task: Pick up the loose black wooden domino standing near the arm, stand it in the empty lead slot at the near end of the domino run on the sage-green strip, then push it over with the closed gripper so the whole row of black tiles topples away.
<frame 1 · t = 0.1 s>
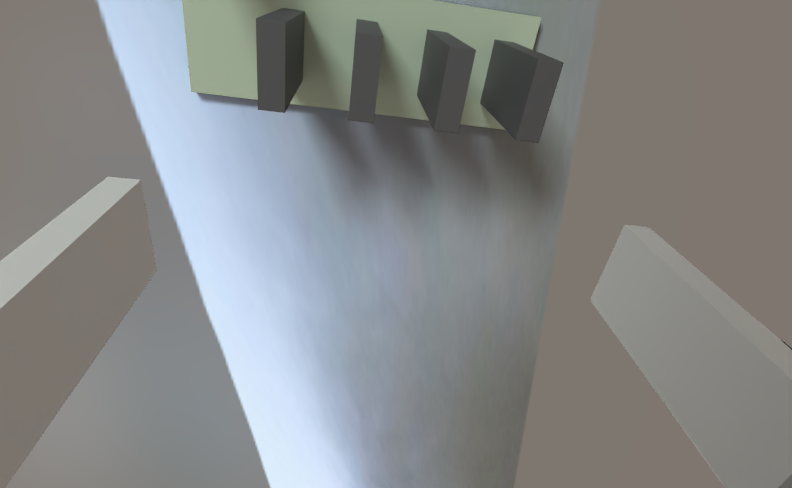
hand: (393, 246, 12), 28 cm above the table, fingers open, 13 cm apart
strip: (363, 54, 35), on the table
domino 4: (431, 64, 35), point 1 cm above the table, touching strip
domino 2: (293, 45, 34), point 1 cm above the table, touching strip
domino 5: (496, 73, 36), point 1 cm above the table, touching strip
domino 3: (363, 55, 35), point 1 cm above the table, touching strip
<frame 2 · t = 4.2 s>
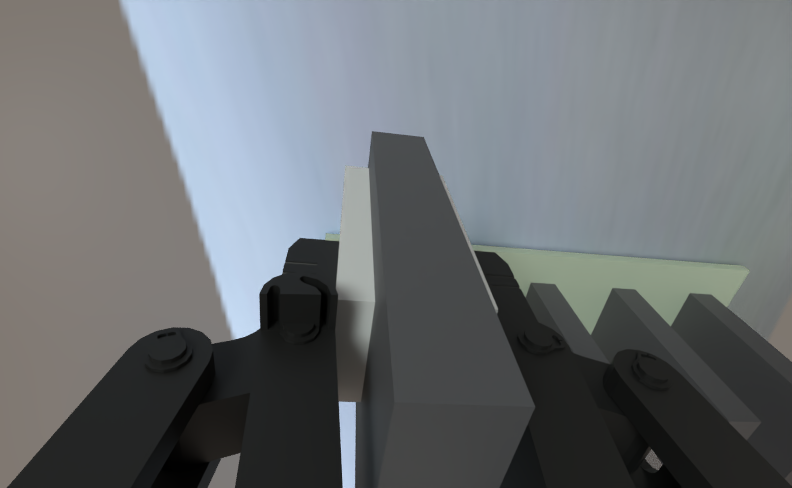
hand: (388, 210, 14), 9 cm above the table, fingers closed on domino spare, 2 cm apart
strip: (528, 309, 29), on the table
domino 4: (609, 319, 29), point 1 cm above the table, touching strip
domino 5: (683, 323, 30), point 1 cm above the table, touching strip
domino 3: (531, 314, 28), point 1 cm above the table, touching strip
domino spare: (387, 207, 15), point 9 cm above the table, touching gripper
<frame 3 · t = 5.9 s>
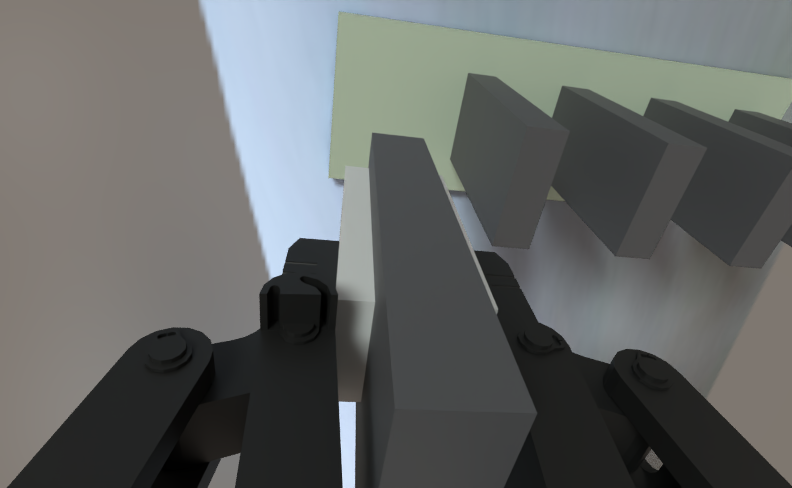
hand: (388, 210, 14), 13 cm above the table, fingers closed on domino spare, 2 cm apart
strip: (557, 127, 26), on the table
domino 4: (645, 140, 27), point 1 cm above the table, touching strip
domino 2: (471, 119, 25), point 1 cm above the table, touching strip
domino 5: (725, 150, 27), point 1 cm above the table, touching strip
domino 3: (560, 130, 26), point 1 cm above the table, touching strip
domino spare: (387, 208, 15), point 13 cm above the table, touching gripper
when the fingers open (1 cm above the table, at t = 8.1 s): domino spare stays where it is, resting on strip.
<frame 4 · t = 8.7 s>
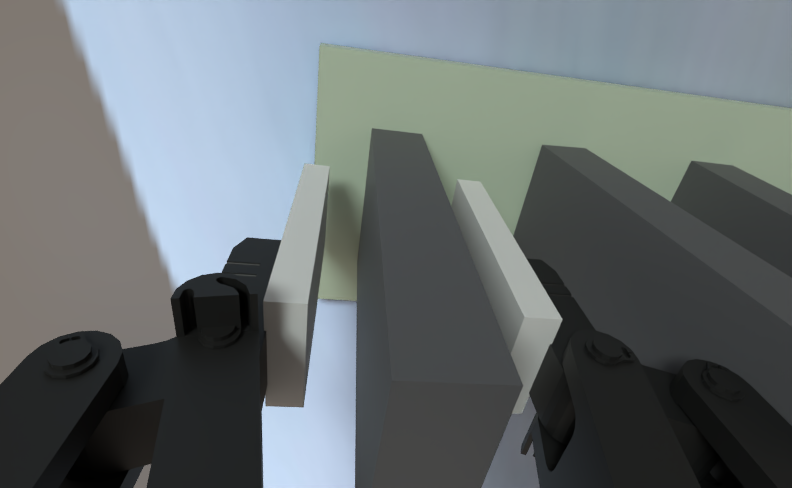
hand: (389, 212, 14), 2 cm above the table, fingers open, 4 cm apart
strip: (668, 218, 17), on the table
domino 2: (540, 214, 15), point 1 cm above the table, tilted 6°, touching gripper, strip
domino 3: (678, 226, 16), point 1 cm above the table, touching strip
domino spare: (387, 202, 15), point 1 cm above the table, touching strip
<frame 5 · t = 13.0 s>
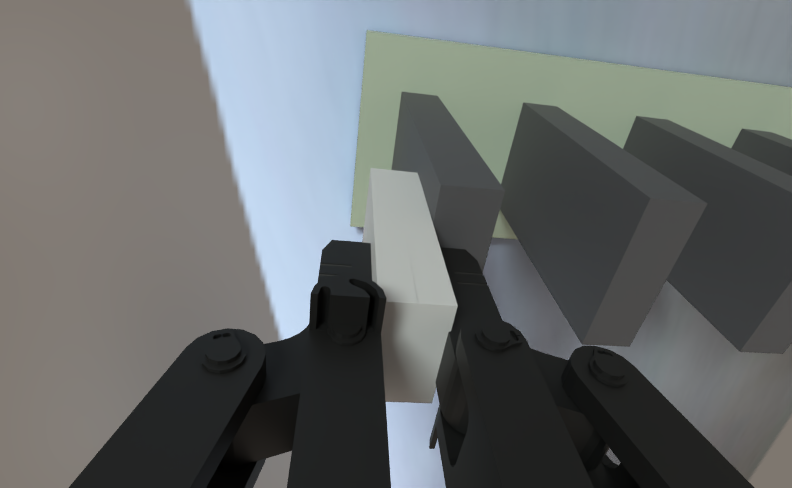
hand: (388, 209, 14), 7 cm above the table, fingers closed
strip: (624, 163, 22), on the table
domino 4: (729, 178, 22), point 1 cm above the table, touching strip
domino 2: (524, 157, 21), point 1 cm above the table, touching strip
domino 3: (630, 168, 22), point 1 cm above the table, touching strip
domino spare: (411, 148, 20), point 1 cm above the table, touching gripper, strip
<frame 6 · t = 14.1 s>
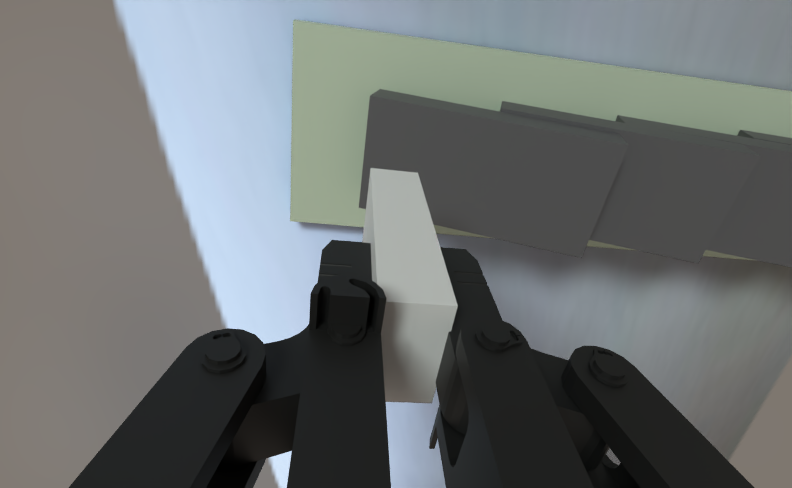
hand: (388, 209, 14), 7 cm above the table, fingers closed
strip: (569, 159, 22), on the table
domino 4: (720, 183, 21), point 1 cm above the table, tilted 70°, touching domino 3, domino 5
domino 2: (488, 159, 20), point 1 cm above the table, tilted 73°, touching domino 3, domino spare, strip
domino 3: (601, 171, 21), point 1 cm above the table, tilted 73°, touching domino 2, domino 4, strip
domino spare: (368, 150, 19), point 1 cm above the table, tilted 73°, touching domino 2, strip
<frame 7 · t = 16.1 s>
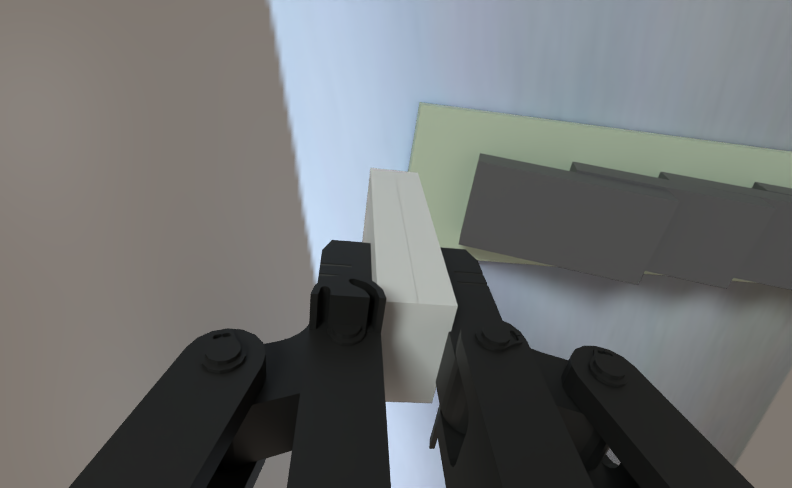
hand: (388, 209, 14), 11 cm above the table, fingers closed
strip: (619, 204, 27), on the table
domino 2: (560, 206, 25), point 1 cm above the table, tilted 73°, touching domino 3, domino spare, strip
domino 3: (647, 215, 26), point 1 cm above the table, tilted 73°, touching domino 2, domino 4, strip
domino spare: (469, 199, 24), point 1 cm above the table, tilted 73°, touching domino 2, strip
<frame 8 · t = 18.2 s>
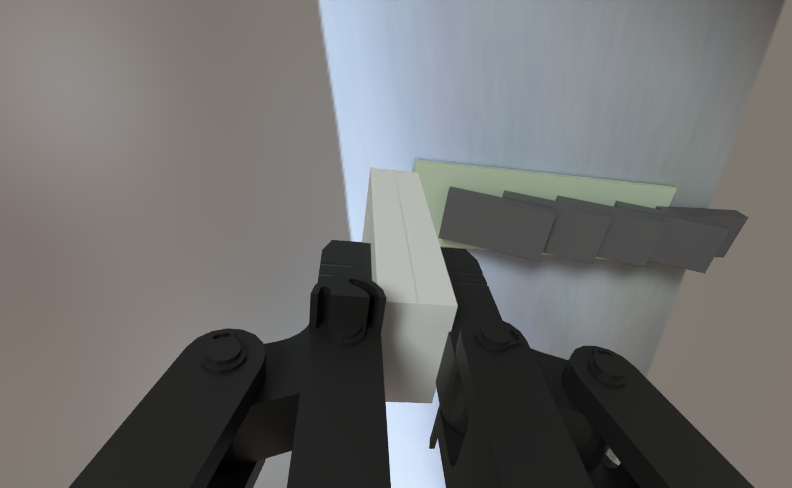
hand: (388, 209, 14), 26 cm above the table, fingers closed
strip: (536, 213, 45), on the table
domino 4: (608, 225, 45), point 1 cm above the table, tilted 70°, touching domino 3, domino 5, strip
domino 2: (497, 216, 43), point 1 cm above the table, tilted 73°, touching domino 3, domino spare, strip
domino 5: (651, 230, 45), point 2 cm above the table, tilted 95°, touching domino 4, strip
domino 3: (550, 220, 44), point 1 cm above the table, tilted 73°, touching domino 2, domino 4, strip
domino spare: (443, 212, 43), point 1 cm above the table, tilted 73°, touching domino 2, strip
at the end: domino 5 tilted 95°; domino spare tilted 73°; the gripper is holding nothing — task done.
